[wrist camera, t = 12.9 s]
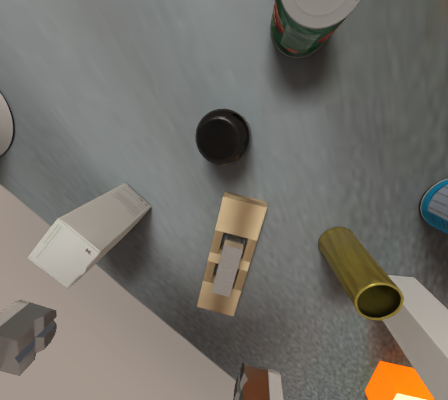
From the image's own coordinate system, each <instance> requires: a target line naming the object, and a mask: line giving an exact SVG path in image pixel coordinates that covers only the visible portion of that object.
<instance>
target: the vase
mask: <svg viewBox="0 0 448 400" xmlns="http://www.w3.org/2000/svg"><path fill="white" fill-rule="evenodd" d="M319 249H320V252H321V253H322V254H323V255H324V256H325V258H326V260H327V262H328V264H329V265H330V267H331V268H332V270H333V272H334V273H335V275H336V277H337V278H338V280H339V281H340V283H341V285H342V286H343V288H344V290H345V291H346V293H347V295H348V296H349V298H350V299H351V301H352V303H353V305H354V307H355V308H356V310H357V312H358V313H359V314H360V315H361V316H363V317H364V318H366V319H370V320H385V319H388V318H390V317H392V316H394V315H395V314H397V313H398V312H399V311H400V310H401V308H402V306H403V302H404V296H403V294H402V292H401V291H400V289H399V288H398V287H397V286H396V284H395V283H394V282H393V281H392V280H391V279H390V278H389V277H388V275H387V274H386V273H385V272H384V271H383V270H382V269H381V267H380V266H379V265H378V264H377V263H376V262H375V260H374V259H373V258H372V257H371V256H370V254H369V253H368V252H367V251H366V249H365V248H364V247H363V245H362V244H361V243H360V242H359V240H358V239H357V238H356V236H355V235H354V233H353V232H352V231H351V230H349V229H347V228H344V227H335V228H331V229H329V230H327V231H326V232H324V233H323V234H322V236H321V237H320V239H319Z"/></svg>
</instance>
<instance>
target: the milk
mask: <svg viewBox="0 0 448 400" xmlns="http://www.w3.org/2000/svg"><path fill="white" fill-rule="evenodd" d="M388 277H389V278H390V279H391V280H392V281H393V282H394V283H395V284H396V286H397V287H398V288H399V289H400V291H401V292H402V294H403V296H404V302H403V306H402V308H401V310H400V311H399V312H398V313H397V314H395V315H394V316H392V317H390V318H388V319H385V320H383V322H384V323H385V325H386V327H387V328H388V330H389V331H390V333H391V334H392V336H393V337H394V339H395V340H396V342H397V343H398V345H399V346H400V348H401V349H402V351H403V352H404V354H405V355H406V357H407V358H408V360H409V361H410V363H411V364H412V366H413V367H414V369H415V370H416V372H417V374H418V375H419V377H420V378H421V380H422V381H423V383H424V384H425V386H426V387H427V389H428V390H429V392H430V393H431V395H432V396H433V398H434V399H435V400H448V309H447V308H446V307H445V306H443V305H442V304H441V303H440V302H439V301H438V300H437V299H436V298H435V297H434V296H433V295H432V294H431V293H430V292H429V291H428V290H427V289H426V288H425V287H424V286H423V285H421V284H420V283H419V282H418V281H417V280H416V279H415V278H414V277H405V276H394V275H388Z"/></svg>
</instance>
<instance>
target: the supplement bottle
mask: <svg viewBox="0 0 448 400" xmlns="http://www.w3.org/2000/svg"><path fill="white" fill-rule="evenodd" d="M250 141H251V129H250V126H249V124H248V122H247V121H246V119H245V118H244V117H243V116H241V115H240V114H238V113H236V112H235V111H232V110H229V109H217V110H213V111H211V112H209V113H208V114H206V115H205V116H204V117H203V118H202V119H201V121H200V122H199V124H198V127H197V130H196V144H197V147H198V150H199V152H200V153H201V155H202V156H203V157H204V158H205V159H206V160H208V161H209V162H211V163H213V164H216V165H230V164H233V163H235V162H237V161H238V160H240V159H241V158H242V157H243V156H244V154H245V153H246V151H247V149H248V147H249V144H250Z"/></svg>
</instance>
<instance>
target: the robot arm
mask: <svg viewBox="0 0 448 400" xmlns="http://www.w3.org/2000/svg"><path fill="white" fill-rule="evenodd" d="M12 136H13V122H12V117H11V113H10V110H9V108H8V105H7V103H6V101H5V99H4V98H3V96H2V95H1V93H0V155H2V154H3V153H4V152H5V151H6V150H7V149H8V147H9V145H10V143H11V140H12ZM55 318H56V310H53V309H50V308H46V307H43V306H40V305H37V304H33V303H30V302H27V301H23V300H19V301H16V302H15V303H13V304H12V305H11V306H9V307H8V308H7V309H5V310H4V311H3V312H1V313H0V371H3V372H7V373H11V374H15V375H19V376H20V375H21V374H22V373H23V371H25V370H26V368H27V367H28V366H29V365H30V364H31V363H32V362H33V361H34V360H35V356H36V353H37V352H39V351H42V350H44V349H45V348H46V347H47V346H48V344H49V343H50V342H51V340H52V339H53V337H54V335H55V332H56V326H57V325H56V323H55V322H54V319H55ZM233 400H283V392H282V383H281V375H280V373H279V372H278V371H275V370H271V369H267V368H265V367H261V366H257V365H253V364H250V363H246V362H243V363H242V366H241V370H240V375H238V377H237V380H236V384H235V389H234V399H233Z"/></svg>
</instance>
